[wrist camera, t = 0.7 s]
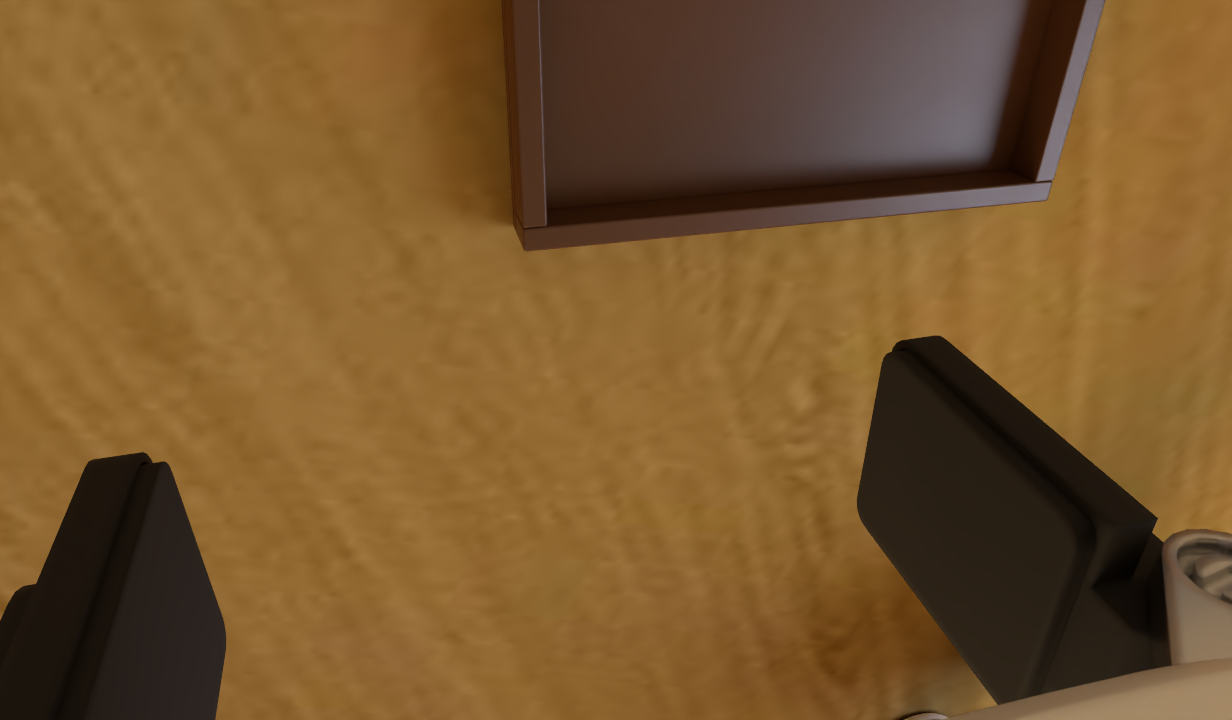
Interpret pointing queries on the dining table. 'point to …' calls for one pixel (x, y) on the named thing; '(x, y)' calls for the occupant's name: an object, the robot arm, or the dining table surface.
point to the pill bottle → (927, 717)
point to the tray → (781, 111)
